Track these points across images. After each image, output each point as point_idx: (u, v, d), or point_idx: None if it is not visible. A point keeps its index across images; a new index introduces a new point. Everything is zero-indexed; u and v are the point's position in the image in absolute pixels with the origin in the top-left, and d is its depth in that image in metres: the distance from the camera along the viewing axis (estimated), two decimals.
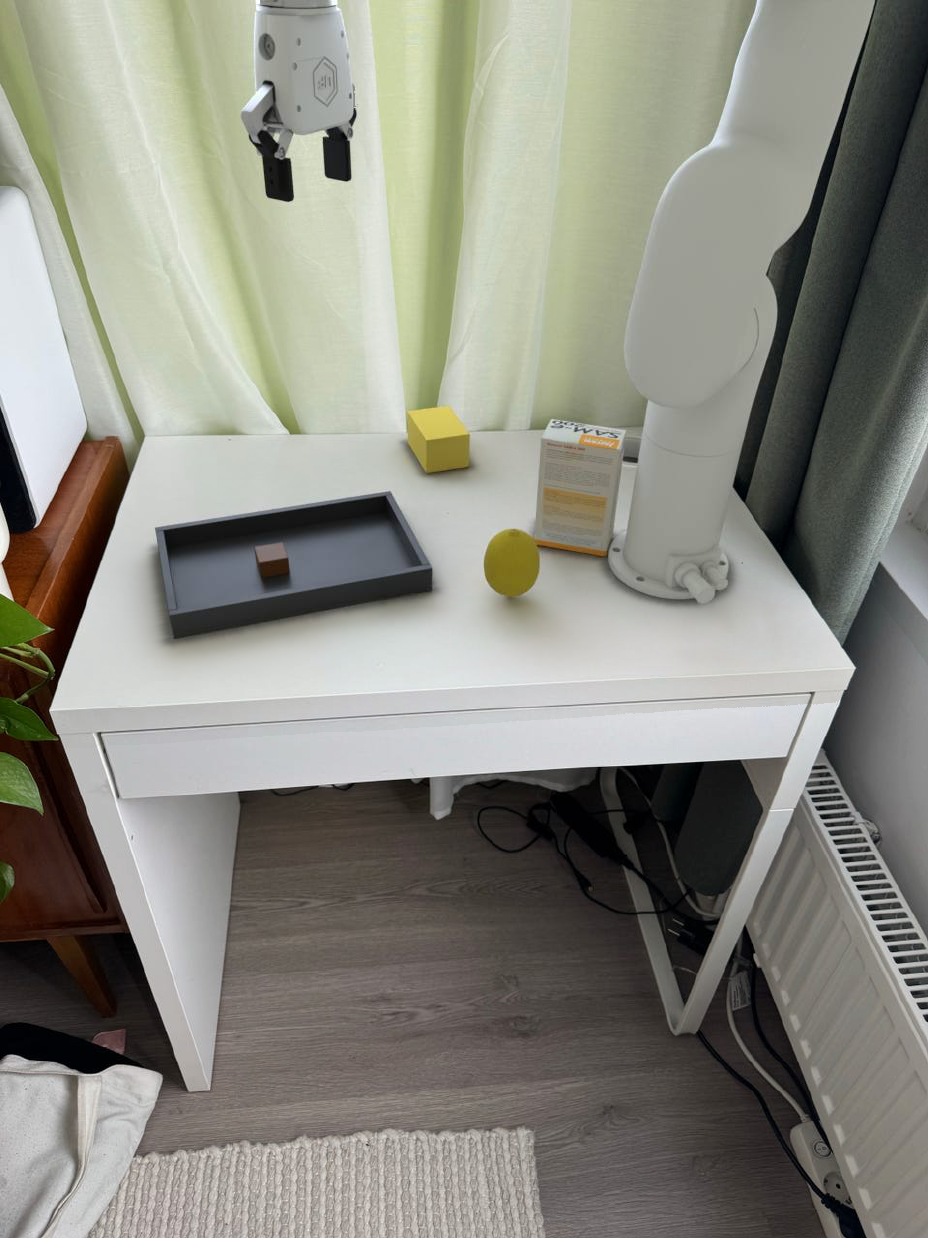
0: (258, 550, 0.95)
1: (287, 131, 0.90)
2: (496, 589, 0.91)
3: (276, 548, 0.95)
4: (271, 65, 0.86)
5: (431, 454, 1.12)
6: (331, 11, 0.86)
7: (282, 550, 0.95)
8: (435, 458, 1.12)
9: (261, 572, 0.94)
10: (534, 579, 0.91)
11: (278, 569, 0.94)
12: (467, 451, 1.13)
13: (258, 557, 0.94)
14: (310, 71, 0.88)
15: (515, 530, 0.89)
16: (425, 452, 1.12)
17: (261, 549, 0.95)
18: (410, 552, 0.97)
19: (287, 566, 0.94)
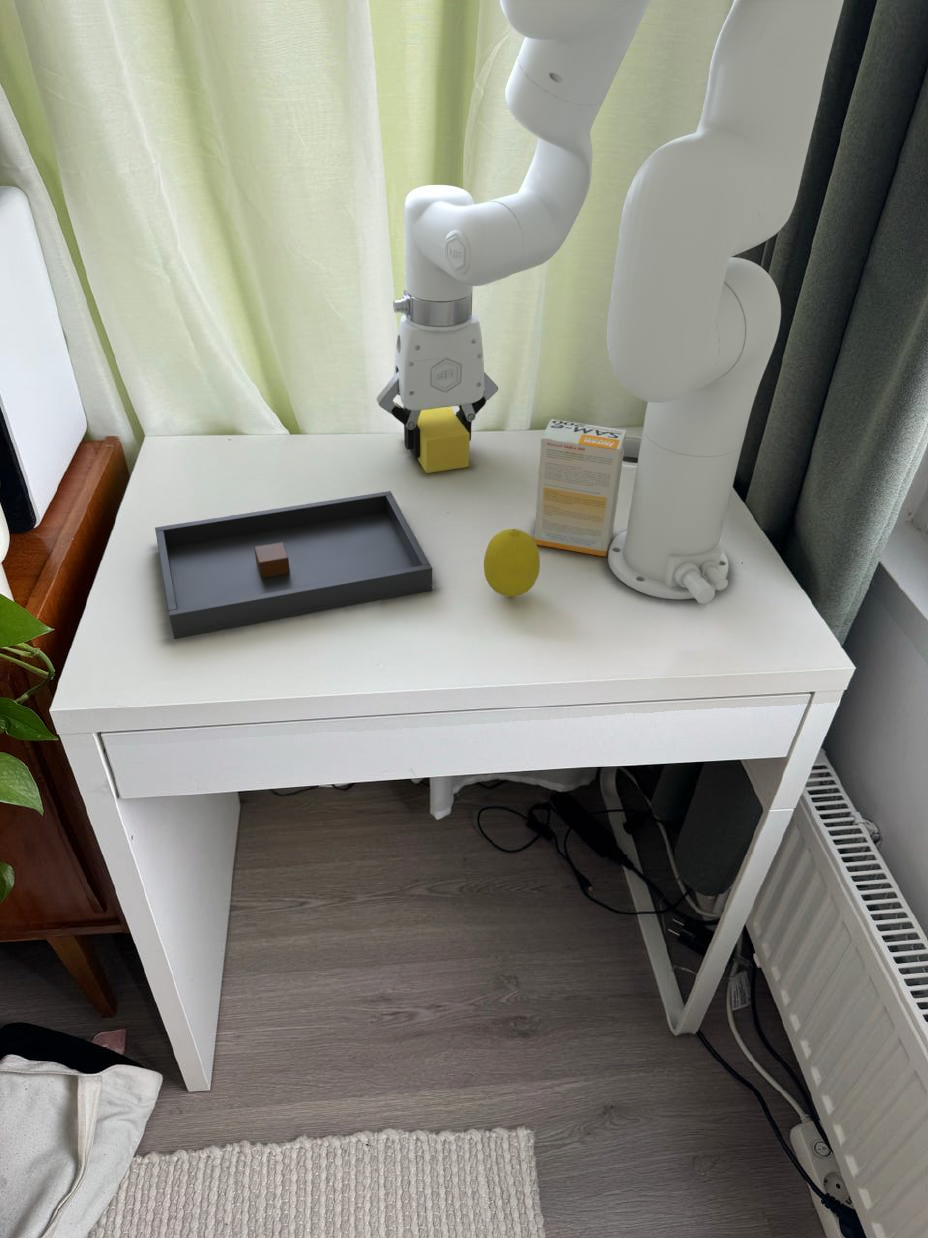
0: (258, 550, 0.95)
1: (414, 409, 1.10)
2: (496, 588, 0.91)
3: (276, 548, 0.95)
4: (398, 358, 1.06)
5: (431, 454, 1.12)
6: (452, 329, 1.03)
7: (282, 550, 0.95)
8: (435, 458, 1.12)
9: (261, 572, 0.94)
10: (534, 579, 0.91)
11: (278, 569, 0.94)
12: (467, 451, 1.13)
13: (258, 557, 0.94)
14: (428, 368, 1.06)
15: (515, 530, 0.89)
16: (425, 452, 1.12)
17: (261, 549, 0.95)
18: (410, 552, 0.97)
19: (287, 566, 0.94)
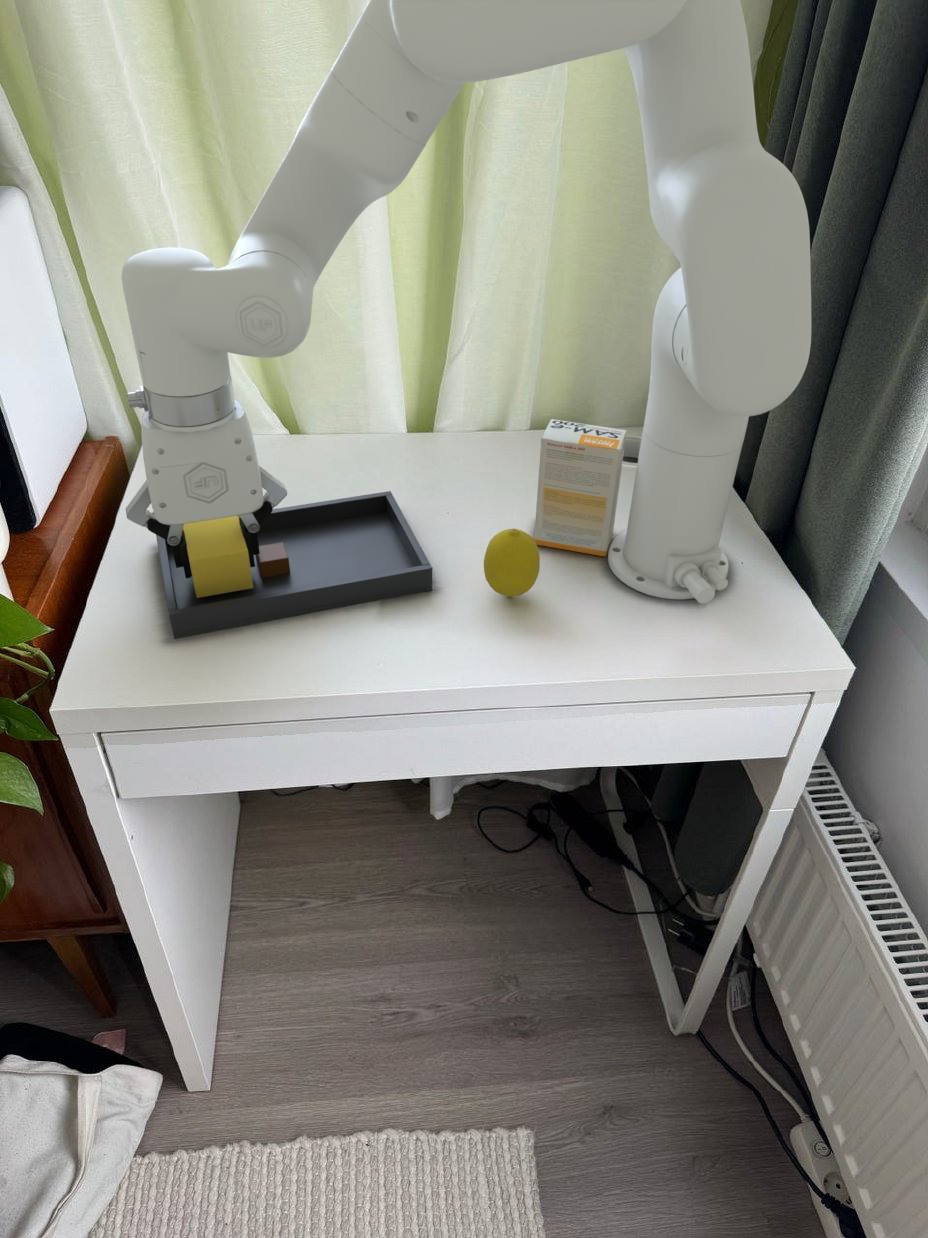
0: (259, 550, 0.95)
1: None
2: (496, 589, 0.91)
3: (277, 547, 0.95)
4: None
5: (199, 576, 0.89)
6: (201, 429, 0.80)
7: (282, 550, 0.95)
8: (205, 580, 0.89)
9: (261, 572, 0.94)
10: (534, 579, 0.91)
11: (278, 569, 0.94)
12: (248, 570, 0.90)
13: (258, 557, 0.94)
14: (180, 475, 0.83)
15: (515, 530, 0.89)
16: (192, 574, 0.89)
17: (261, 549, 0.95)
18: (410, 552, 0.97)
19: (287, 566, 0.94)
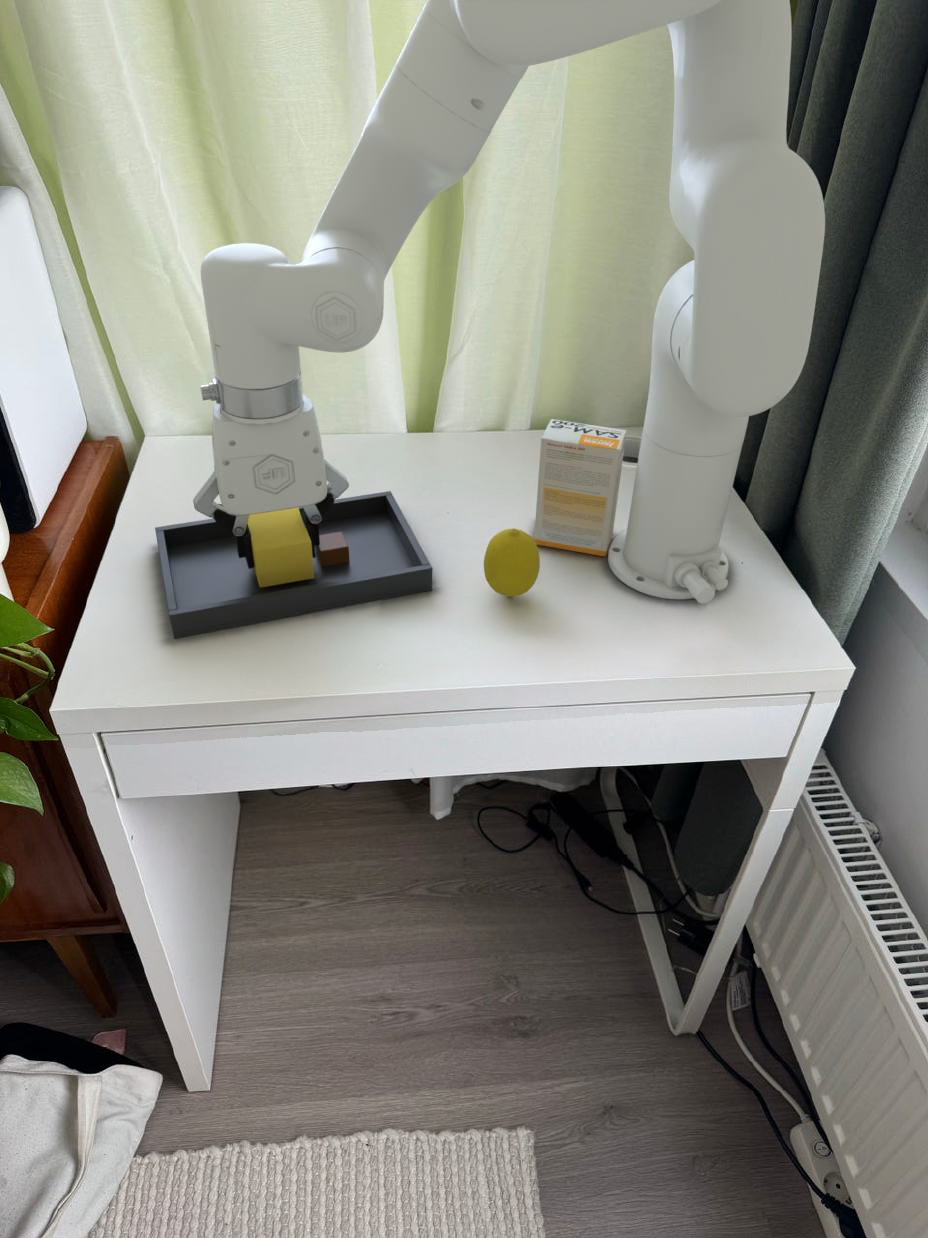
0: None
1: None
2: (496, 588, 0.91)
3: (336, 537, 0.97)
4: (213, 454, 0.85)
5: (263, 566, 0.91)
6: (273, 421, 0.82)
7: (342, 539, 0.97)
8: (269, 570, 0.91)
9: (322, 561, 0.96)
10: (534, 579, 0.91)
11: (338, 558, 0.96)
12: (310, 561, 0.92)
13: (319, 546, 0.96)
14: (249, 466, 0.85)
15: (515, 530, 0.89)
16: (256, 564, 0.91)
17: (321, 538, 0.97)
18: (410, 552, 0.97)
19: (347, 555, 0.96)
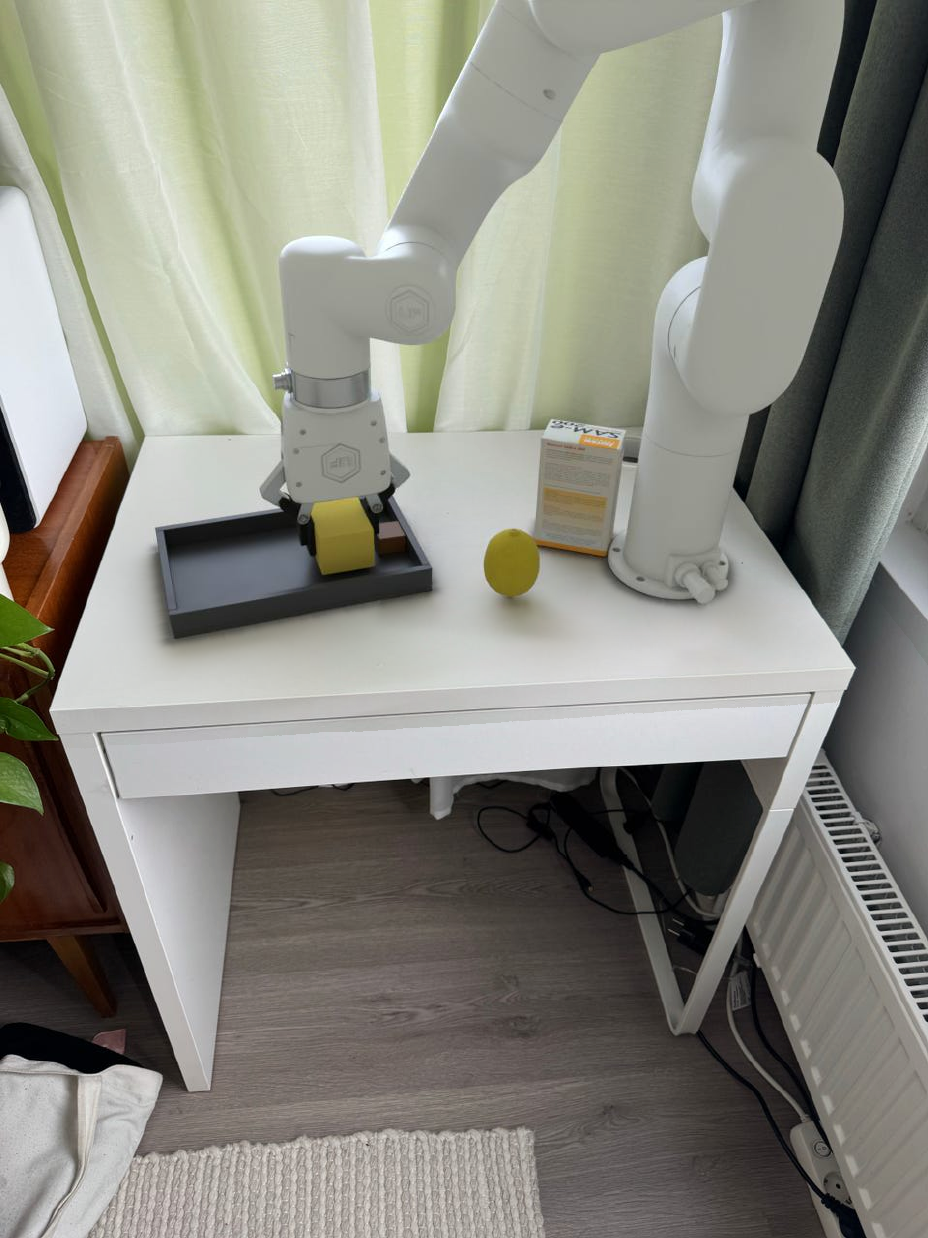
0: None
1: None
2: (496, 588, 0.91)
3: (393, 526, 0.99)
4: (282, 442, 0.87)
5: (327, 554, 0.92)
6: (344, 411, 0.84)
7: (399, 528, 0.99)
8: (332, 558, 0.93)
9: (379, 548, 0.98)
10: (534, 579, 0.91)
11: (395, 546, 0.98)
12: (372, 549, 0.94)
13: (377, 534, 0.97)
14: (318, 455, 0.87)
15: (515, 530, 0.89)
16: (319, 551, 0.92)
17: None
18: (410, 552, 0.97)
19: (404, 544, 0.98)
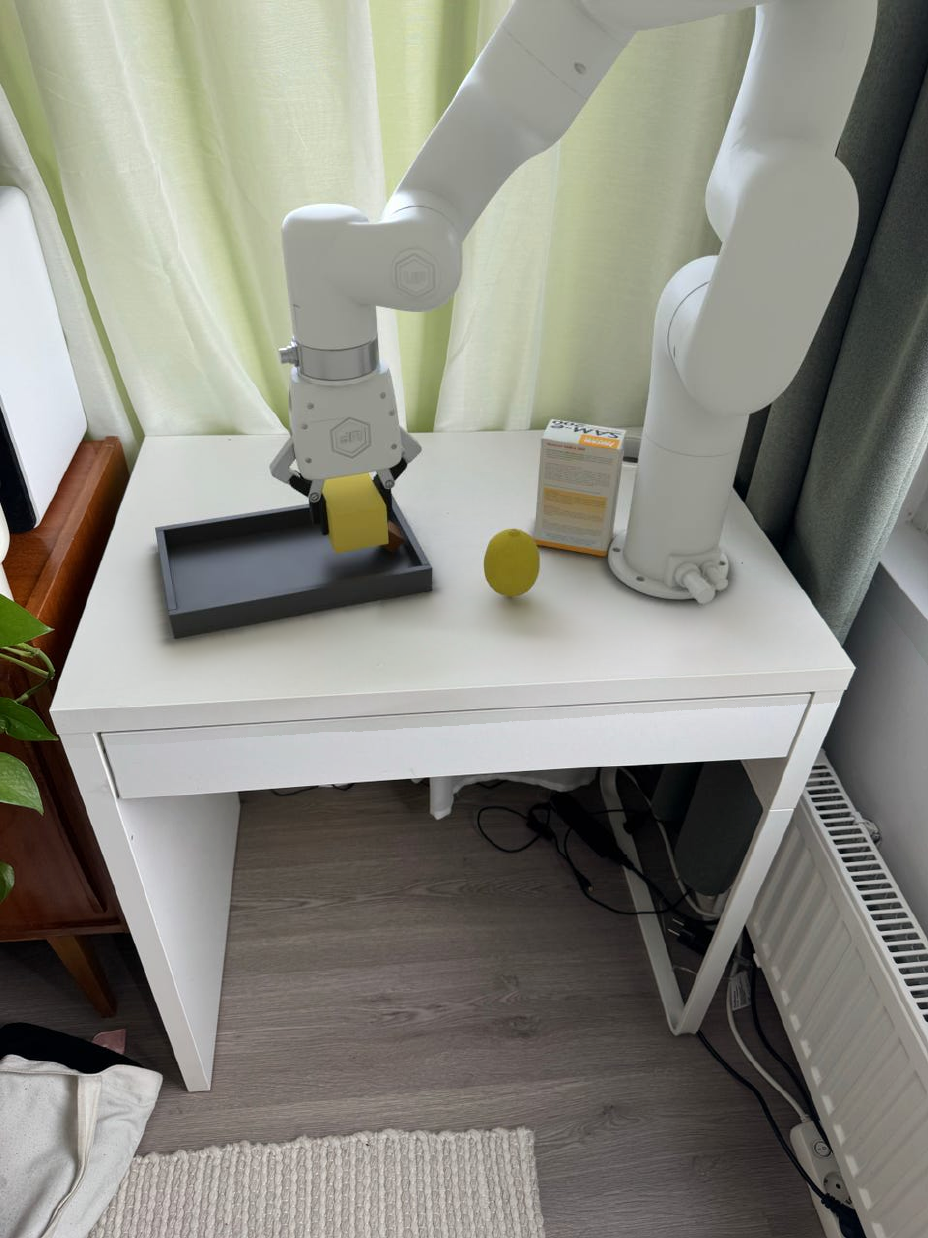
0: None
1: None
2: (496, 589, 0.91)
3: (394, 526, 0.99)
4: (290, 418, 0.86)
5: (339, 532, 0.91)
6: (352, 383, 0.82)
7: (399, 531, 0.99)
8: (345, 536, 0.91)
9: None
10: (534, 579, 0.91)
11: (389, 543, 0.97)
12: (385, 526, 0.92)
13: None
14: (327, 430, 0.85)
15: (515, 530, 0.89)
16: (332, 529, 0.91)
17: None
18: (410, 552, 0.97)
19: (397, 546, 0.98)
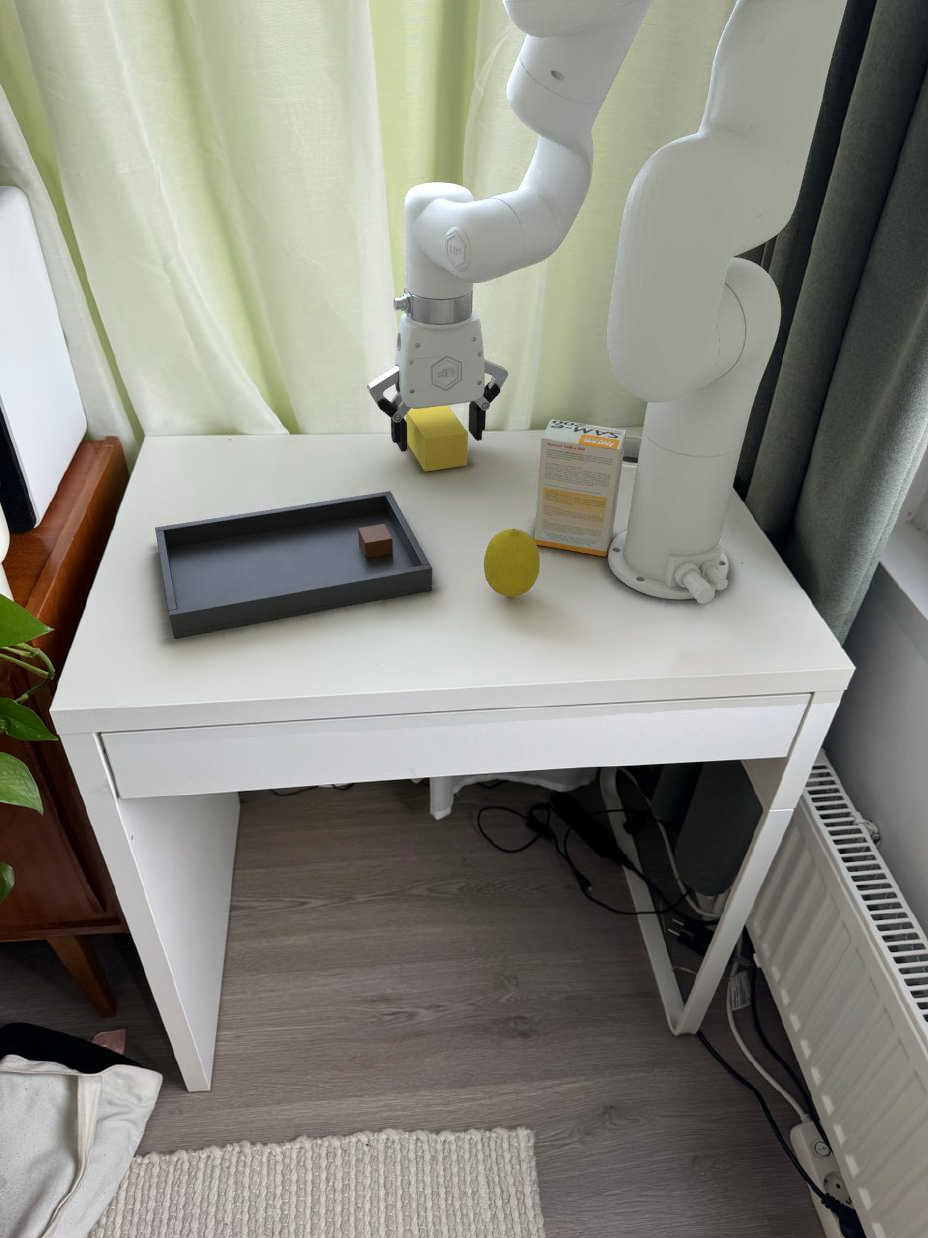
0: (363, 531, 0.98)
1: None
2: (496, 589, 0.91)
3: (380, 529, 0.98)
4: (398, 356, 1.06)
5: (429, 453, 1.12)
6: (452, 326, 1.03)
7: (385, 531, 0.98)
8: (433, 457, 1.12)
9: (366, 552, 0.97)
10: (534, 579, 0.91)
11: (382, 550, 0.98)
12: (465, 450, 1.13)
13: (363, 538, 0.97)
14: (428, 366, 1.06)
15: (515, 530, 0.89)
16: (423, 451, 1.12)
17: (365, 530, 0.98)
18: (410, 552, 0.97)
19: (391, 547, 0.98)
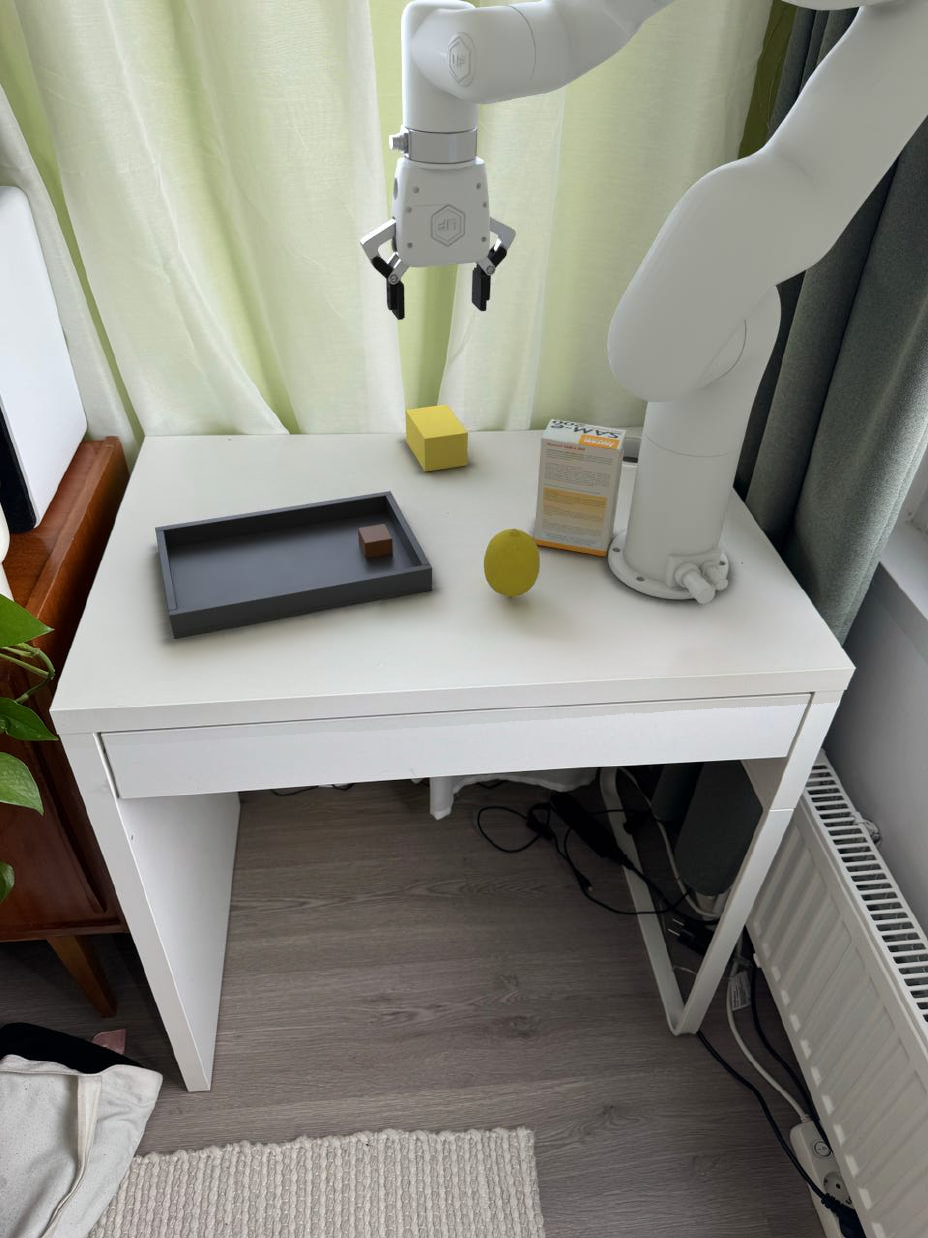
0: (363, 531, 0.98)
1: (403, 261, 0.99)
2: (496, 588, 0.91)
3: (380, 529, 0.98)
4: (395, 205, 0.96)
5: (429, 453, 1.12)
6: (454, 167, 0.93)
7: (385, 531, 0.98)
8: (433, 457, 1.12)
9: (366, 552, 0.97)
10: (534, 579, 0.91)
11: (382, 550, 0.98)
12: (465, 450, 1.13)
13: (363, 538, 0.97)
14: (428, 215, 0.96)
15: (515, 530, 0.89)
16: (423, 451, 1.12)
17: (365, 530, 0.98)
18: (410, 552, 0.97)
19: (391, 547, 0.98)
